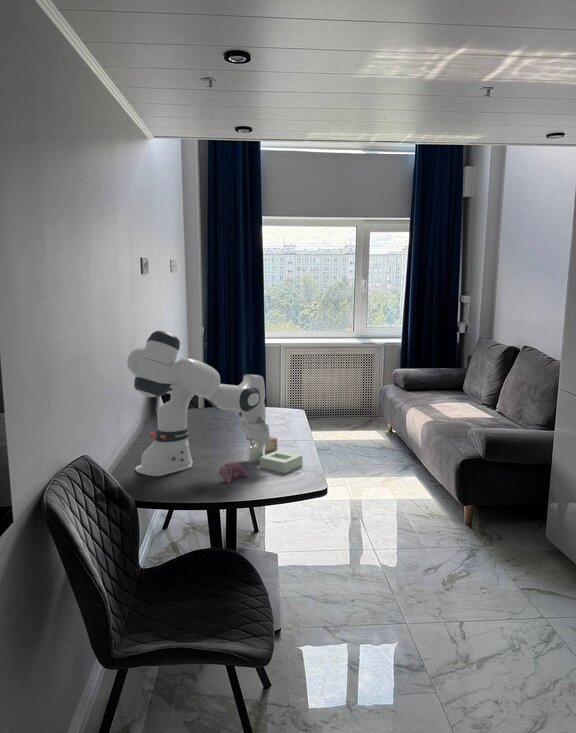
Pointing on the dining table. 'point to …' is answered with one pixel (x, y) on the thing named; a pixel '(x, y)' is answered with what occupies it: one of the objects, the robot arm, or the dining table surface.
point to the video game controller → (235, 469)
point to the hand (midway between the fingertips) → (254, 449)
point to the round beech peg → (271, 445)
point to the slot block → (281, 461)
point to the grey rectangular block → (253, 451)
